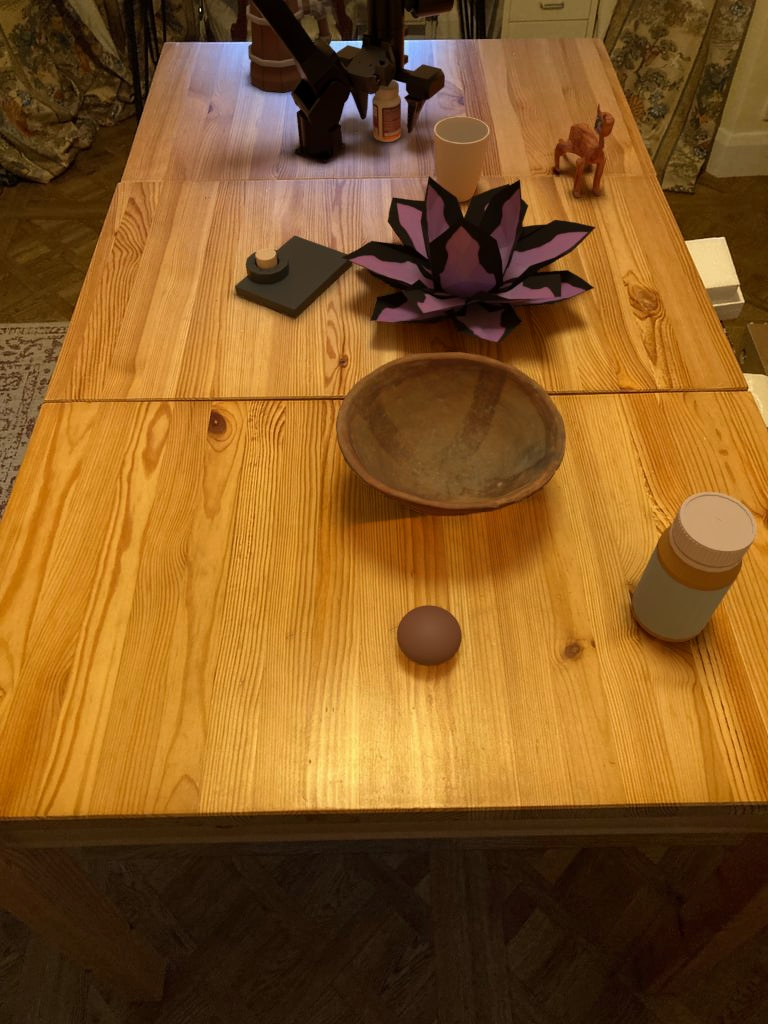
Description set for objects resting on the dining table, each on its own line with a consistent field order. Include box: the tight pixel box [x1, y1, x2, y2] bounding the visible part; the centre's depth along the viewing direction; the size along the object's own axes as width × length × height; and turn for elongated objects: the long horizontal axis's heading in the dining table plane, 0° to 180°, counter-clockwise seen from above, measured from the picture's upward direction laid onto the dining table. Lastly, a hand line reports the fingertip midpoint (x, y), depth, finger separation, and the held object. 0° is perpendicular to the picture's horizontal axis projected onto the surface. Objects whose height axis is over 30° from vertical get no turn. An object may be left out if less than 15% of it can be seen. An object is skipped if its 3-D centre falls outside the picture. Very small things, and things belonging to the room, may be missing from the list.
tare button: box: [255, 247, 277, 269], centre depth 105 cm, size 3×3×2 cm
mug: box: [245, 0, 333, 93], centre depth 140 cm, size 16×12×15 cm
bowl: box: [335, 351, 567, 517], centre depth 80 cm, size 22×23×10 cm
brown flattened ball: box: [396, 604, 463, 667], centre depth 71 cm, size 6×6×4 cm
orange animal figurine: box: [553, 103, 616, 198], centre depth 118 cm, size 18×7×14 cm, turn 9°
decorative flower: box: [342, 175, 596, 344], centre depth 99 cm, size 32×32×15 cm
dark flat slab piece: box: [234, 235, 353, 319], centre depth 106 cm, size 11×14×3 cm
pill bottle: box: [372, 80, 402, 143], centre depth 128 cm, size 5×5×8 cm
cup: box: [433, 115, 490, 203], centre depth 116 cm, size 8×8×10 cm
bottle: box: [630, 491, 758, 643], centre depth 68 cm, size 7×7×15 cm
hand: (386, 125), depth 130 cm, fingers open, 9 cm apart
